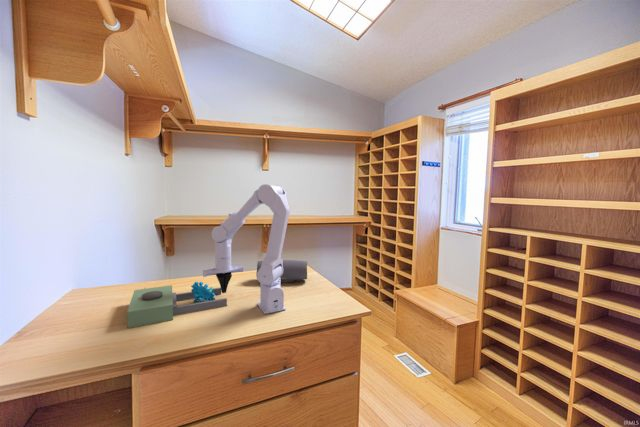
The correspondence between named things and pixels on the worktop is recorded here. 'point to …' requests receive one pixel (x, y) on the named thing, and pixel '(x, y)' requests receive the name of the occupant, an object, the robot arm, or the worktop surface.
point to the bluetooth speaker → (291, 270)
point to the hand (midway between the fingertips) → (223, 292)
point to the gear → (202, 292)
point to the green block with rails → (164, 305)
